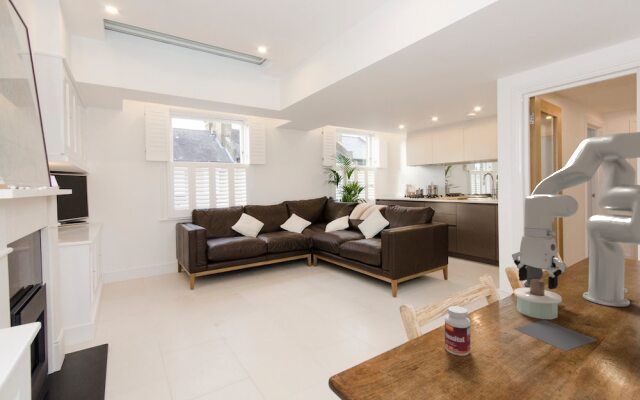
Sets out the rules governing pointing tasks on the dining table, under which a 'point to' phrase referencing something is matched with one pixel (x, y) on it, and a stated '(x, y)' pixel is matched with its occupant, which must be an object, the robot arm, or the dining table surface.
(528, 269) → the candle holder
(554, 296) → the lid
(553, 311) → the bowl
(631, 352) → the dining table surface
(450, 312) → the pill bottle
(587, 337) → the mat
